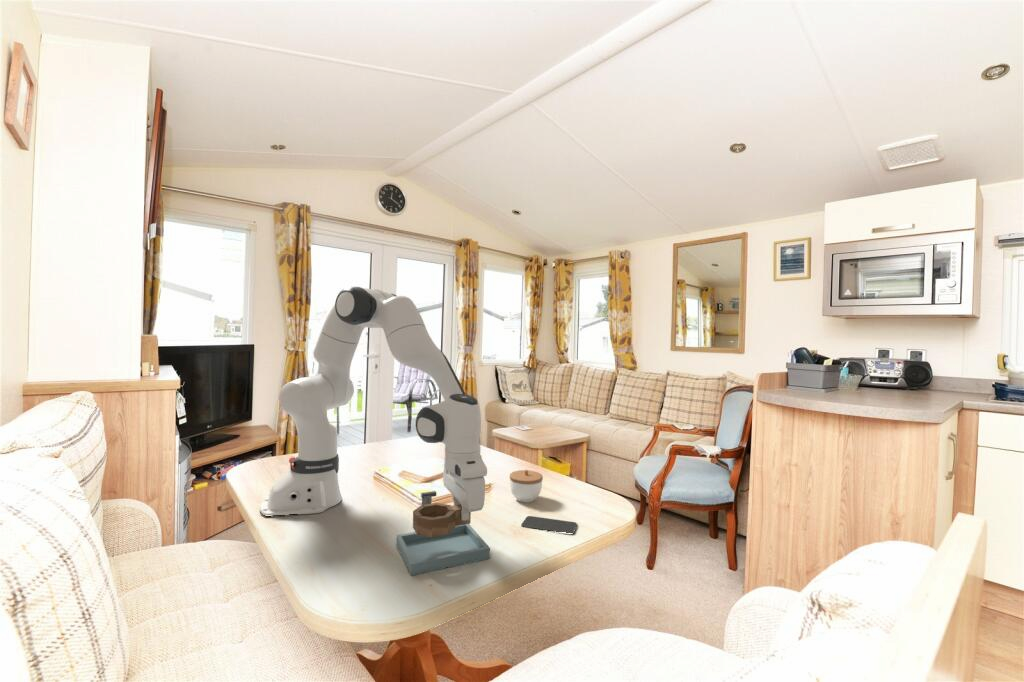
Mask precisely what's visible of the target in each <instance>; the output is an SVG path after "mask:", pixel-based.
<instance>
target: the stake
mask: <svg viewBox="0 0 1024 682" xmlns="http://www.w3.org/2000/svg"><path fill="white" fill-rule="evenodd" d="M435 497H437V491H436V490H432V491H425V492H421V493H420V498H421V505H426V504H432V502H433V501H432V498H435Z"/></svg>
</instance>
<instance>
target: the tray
mask: <svg viewBox="0 0 1024 682" xmlns="http://www.w3.org/2000/svg"><path fill="white" fill-rule="evenodd" d="M395 543H396V545H397V546H396V548H397V549H398V552H399V553H400V556H401V559H402V560H403V562H404V565H405V567H406V569H407V570H408V572H409V575H410V576H416V575H420V574H424V573H429V571H430V572H435V571H439V570H443V568H444V569H447V568H446V567H448V568H451V566H453V567H456V566H455V565H457V566H461V565H460V564H462V565H465V564H464V563H466V564H470V563H469V562H471V563H474V561H475V562H479V561H483V560H488V559H491V546H489V545H488V544H487V543H486V542H485V541H484V539H483V538H482V537H481V536H480V535H479V534H478V533H477V531H476V530H475V529H474V528H473V527H472V526H471V524H465V525H460V526H455V528H454V529H453V530H452V531H451V532H450V533H448V534H445V535H440V536H435V537H429V536H423V535H418V534H416V532H415V531H414V532H409V533H403V534H398V535H397V534H396V542H395ZM438 569H439V570H438Z"/></svg>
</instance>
